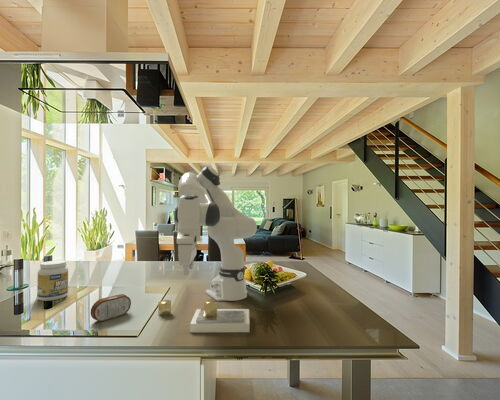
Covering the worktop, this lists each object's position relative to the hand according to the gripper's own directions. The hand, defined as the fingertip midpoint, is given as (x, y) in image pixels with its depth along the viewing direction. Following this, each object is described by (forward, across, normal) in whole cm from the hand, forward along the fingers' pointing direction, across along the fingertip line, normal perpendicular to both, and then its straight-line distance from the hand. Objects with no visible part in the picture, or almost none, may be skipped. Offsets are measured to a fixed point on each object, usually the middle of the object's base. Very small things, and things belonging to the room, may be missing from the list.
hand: (188, 271), depth 111 cm
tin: (+19, -4, -30) cm, 36 cm away
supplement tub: (+20, -30, -69) cm, 78 cm away
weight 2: (+15, +6, +9) cm, 18 cm away
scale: (+19, +4, +13) cm, 23 cm away
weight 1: (+19, -6, -10) cm, 23 cm away
